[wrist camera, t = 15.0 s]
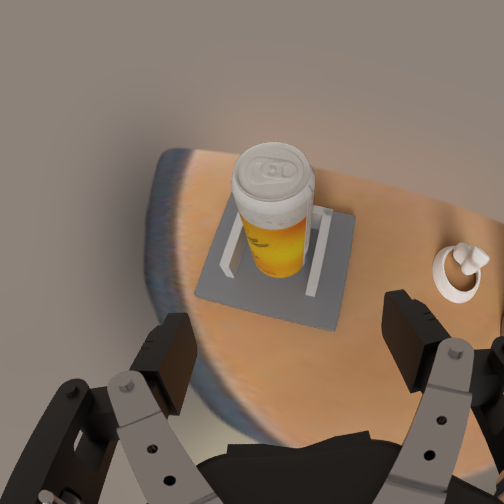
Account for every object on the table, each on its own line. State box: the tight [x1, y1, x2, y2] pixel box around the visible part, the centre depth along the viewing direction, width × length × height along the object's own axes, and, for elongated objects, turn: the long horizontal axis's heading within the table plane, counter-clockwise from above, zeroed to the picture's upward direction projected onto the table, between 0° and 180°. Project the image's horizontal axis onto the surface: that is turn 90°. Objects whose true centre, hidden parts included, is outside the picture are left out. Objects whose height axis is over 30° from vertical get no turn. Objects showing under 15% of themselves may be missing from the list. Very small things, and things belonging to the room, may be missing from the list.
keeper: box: [194, 192, 356, 331], centre depth 32 cm, size 16×14×5 cm
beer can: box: [231, 142, 315, 278], centre depth 26 cm, size 6×6×15 cm
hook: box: [432, 242, 490, 303], centre depth 27 cm, size 8×12×7 cm
